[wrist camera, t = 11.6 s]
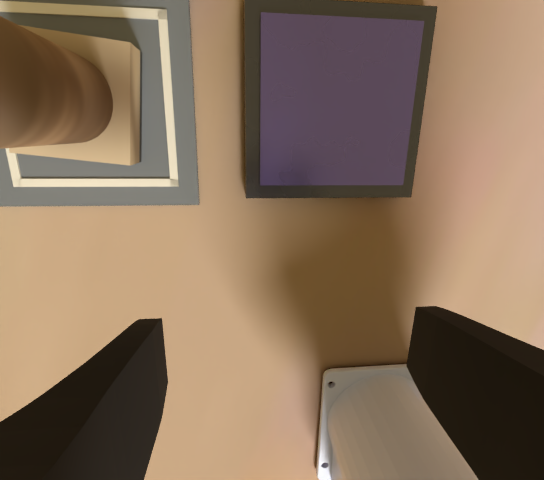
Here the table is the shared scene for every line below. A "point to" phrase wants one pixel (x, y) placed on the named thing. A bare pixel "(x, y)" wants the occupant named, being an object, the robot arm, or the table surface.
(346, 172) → the ink pad
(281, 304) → the table surface
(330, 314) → the table surface
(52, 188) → the desk mat
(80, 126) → the stamp
